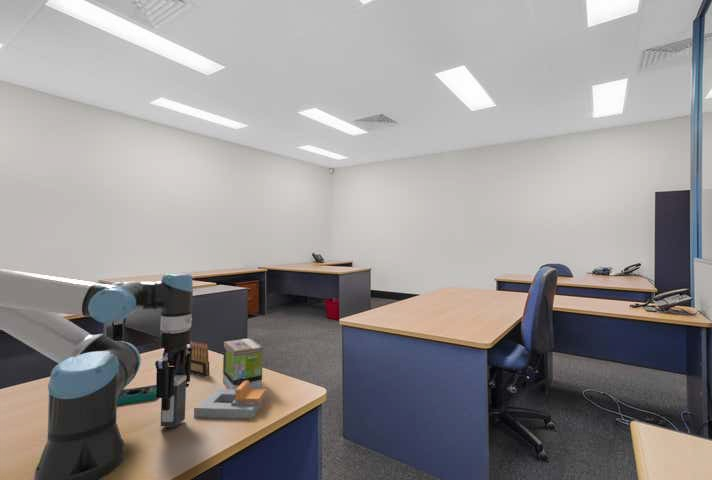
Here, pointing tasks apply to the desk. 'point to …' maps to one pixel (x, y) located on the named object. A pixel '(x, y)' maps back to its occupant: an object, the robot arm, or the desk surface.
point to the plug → (177, 401)
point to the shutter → (248, 393)
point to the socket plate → (226, 406)
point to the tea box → (242, 363)
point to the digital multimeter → (136, 395)
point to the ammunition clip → (199, 359)
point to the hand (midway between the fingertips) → (173, 416)
